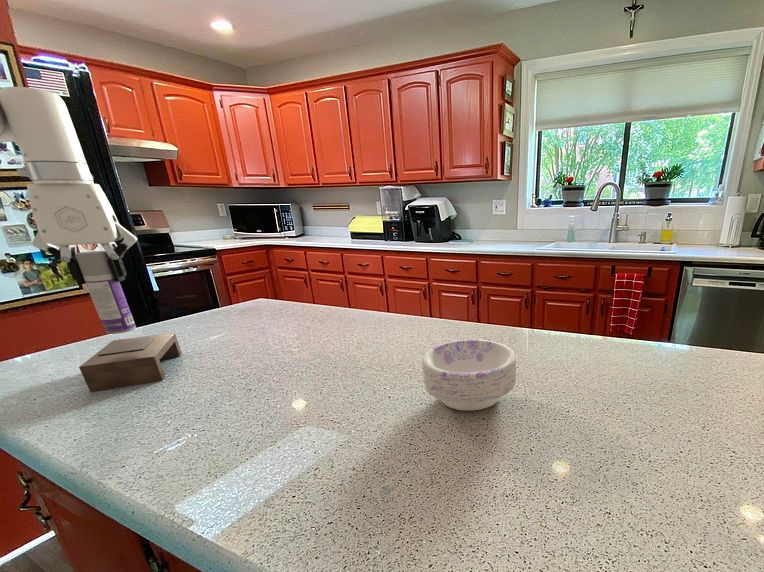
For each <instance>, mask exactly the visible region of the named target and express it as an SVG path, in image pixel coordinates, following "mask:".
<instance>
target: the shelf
mask: <svg viewBox="0 0 764 572" xmlns="http://www.w3.org/2000/svg"><path fill="white" fill-rule="evenodd" d="M182 354H183V353H182V350H181V347H180V344H179V341H178V337H177V334H176V332H170V333H161V334H153V335H147V336H146V335H145V336H137V337H130V338H122V339H121V338H119V339H113V340H111V341H110V342H109V343H107V345H105V346H104V347H103V348H101V349H100V350H99V351H98V352H96V353H95V354H94V355H92V356H91V357H90V358H89V359H87V360H86V361H84V362H83V363H82V364H80V366H78V369H79V371H80V374H81V375H82V378H83V380H84V382H85V384H86V386H87V389H88V391H89V392H90V393H93V392H98V391H99V392H100V391H105V390H111V389H118V388H125V387H130V386H136V385H143V384H149V383H156V382H161V381H164V379H165V378H166V375H165V372H164V369H163V366H162V363H161V360H165V359H171V358H178V357H181V356H182Z"/></svg>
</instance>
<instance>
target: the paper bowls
mask: <svg viewBox="0 0 764 572" xmlns="http://www.w3.org/2000/svg"><path fill="white" fill-rule="evenodd" d="M421 364H422V376H423V386H424V389H425V391H426V392H427V393H428V395H429V396H431V397H433V398H435V399H437V400H440V402H441V403H442V404H443V405H445V406H447V407H448V408H451V409H452V410H453V409H454V410H457V411H464V412H465V411H468V412H470V411H471V412H472V411H473V412H474V411H480V410H485V409H488V408H489V407H492V406H493V405H495V404H496V403H498V402H499V400H501V398H502V397H503V396H505V395H507V394H509V393H510V392H511V391H513V389H514V388H515V385H516V381H517V356H516V353H515V351H514V350H513V349H512V348H511V347H509V346H507V345H505V344H503V343H500V342H498V341H497V342H496V341H492V340H485V339H460V340H453V341H448V342H443V343H441V344H438V345H435V346H433V347H431V348H429V349H428V350H427V351H426V352H425V353H424V354H423V356H422V359H421Z"/></svg>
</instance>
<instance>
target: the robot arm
mask: <svg viewBox="0 0 764 572" xmlns="http://www.w3.org/2000/svg"><path fill="white" fill-rule="evenodd" d="M12 142H16V145H17V146H18V149H19V151H20V154H21V156H22V159H23V161H24V162H23V165H24V166H22V167H17V168H16V172H17V174H18V175H19V176H20V177H27V178H29V180H30V181H32V183H27V184H26V188H27V189H26V190H27V196H28V200H29V205H30V208H31V209H30V210H31V212H32V215H33V218H34V223H35V225H36V228H37V232H36V235H35V236H34V238H33V240H32V243H31V244H32V246H33V247H34V248H37V249H40V250H42V251H44V252H47V253H49V254H50V255H52V256H54V257H55V258H57V259H60V261H61V262H62V263H64V264H66V265H67V268H68V271H69V273H70V275H71V278H72V279H73V280H74V281H76V283H77V285H79V286H81V285H86V283H85V280H84V278H83V275H82V272H81V269H80V267H79V264H78V261H77V259H76V256H75V253H78V251H77V246H81V245H82V246H83V245H101V247H102V249H103V251H106V253H107V254H108V255H109V259H110V260H108V264H109V267H110V269H111V272H112V275H113V277H114V280H115V281H117V282H123V281H125V280H126V277H127V274H128V273H127V271H126V267H125V265H124V262H123V257H124V255H125V253H127V252H128V250H129V249H130V248H131V247H132V246H133V245H134V244H136V242H138V237H137V236H136V235H135V234H133V233H132V232H130V231H129V230H127V229H126V228H125V227H124V226H122V224H120V222H119V220H118V218H117V216H116V214H115V211H114V209H113V206H112V205H111V203H110V201H109V200H108V197H107V196H106V193H105V192H104V191H103V188H102V187H101V185H100V184H98V183H94V179H93V176H92V174H91V171H90V168H89V165H88V163H87V160H86V158H85V155H84V152H83V148H82V146H81V143H80V140H79V138H78V135H77V132H76V128H75V127H74V123H73V121H72V118H71V116H70V113H69V110H68V107H67V105H66V103H65V101H64V100H63V99H62V97H61V96H59V95H57V94H56V93H54V92H52V91H49V90H45V89H40V88H34V87H25V86H5V87H2V88H0V143H12ZM122 239H123V240H122ZM121 240H122V241H121ZM118 241H121V242H120V243H119V244H118V245H117V243H116V242H118Z"/></svg>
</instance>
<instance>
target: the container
mask: <svg viewBox="0 0 764 572" xmlns="http://www.w3.org/2000/svg"><path fill="white" fill-rule="evenodd" d="M75 256H76V259H77V261H78V264H79V267H80V269H81V272H82V275H83V278H84V280H85V285H86V288H87V290H88V293H89V295H90V298H91V301H92V302H93V305H94V308H95V310H96V312H97V313H96V314H97V315H98V317H99V320H100V322H101V325H102V327H103V329H104V332H105V334H107V335H117V334H125V333H128V332H132V331H134V330H136V329H137V326H136V323H135V320H134V317H133V315H132V312H131V309H130V306H129V304H128V302H127V299H126V296H125V293H124V291H123V288H122V284H121V283H120V282H121V281H120V282H117V281H115V280H114V277H113V275H112V272H111V269H110V267H109V264H108V260H110V259H109V255H108V254H107V253H106V251H105V250H93V251H81V252H77V253H75Z"/></svg>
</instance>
